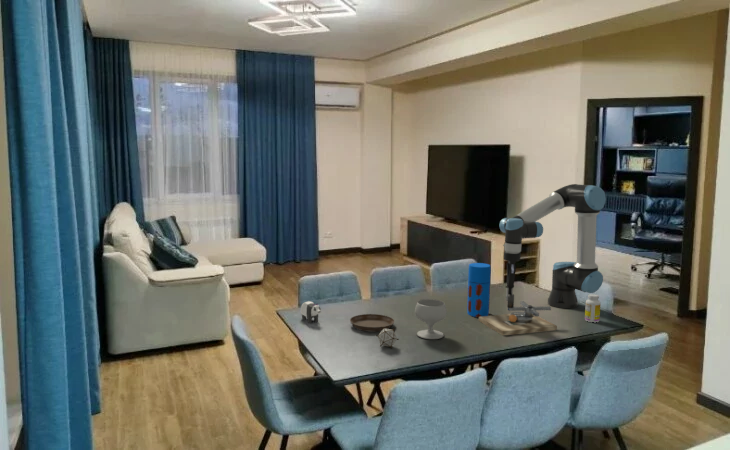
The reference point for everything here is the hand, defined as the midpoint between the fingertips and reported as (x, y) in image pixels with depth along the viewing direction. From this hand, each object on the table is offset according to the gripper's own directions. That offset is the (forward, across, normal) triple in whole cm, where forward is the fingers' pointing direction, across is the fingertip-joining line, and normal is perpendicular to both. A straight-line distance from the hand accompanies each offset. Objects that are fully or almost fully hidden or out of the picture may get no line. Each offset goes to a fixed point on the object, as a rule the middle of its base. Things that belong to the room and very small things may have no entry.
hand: (508, 300), depth 259 cm
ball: (+9, +5, +2) cm, 10 cm away
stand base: (+11, +2, +4) cm, 12 cm away
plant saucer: (+13, +15, -63) cm, 66 cm away
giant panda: (+13, +13, -92) cm, 94 cm away
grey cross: (+8, +2, +9) cm, 13 cm away
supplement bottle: (+11, -12, +41) cm, 44 cm away
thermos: (+12, -13, -13) cm, 22 cm away
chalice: (+12, +23, -36) cm, 44 cm away
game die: (+12, +40, -53) cm, 68 cm away
